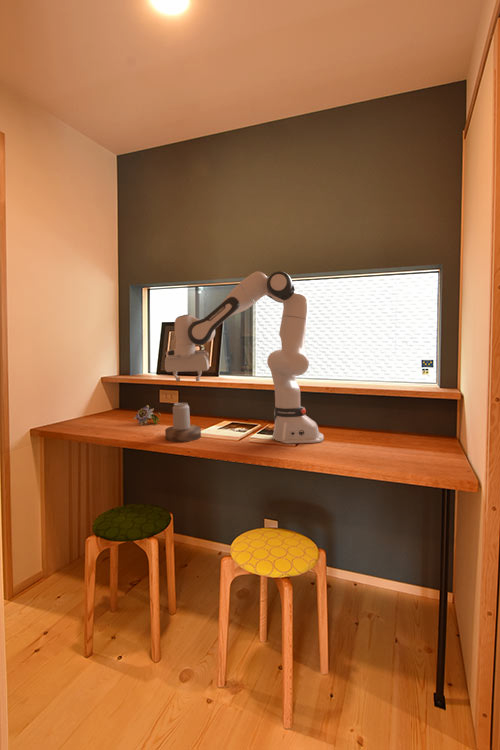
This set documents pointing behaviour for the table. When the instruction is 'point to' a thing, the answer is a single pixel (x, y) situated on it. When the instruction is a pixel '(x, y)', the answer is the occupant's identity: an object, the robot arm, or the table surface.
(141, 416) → the passion flower
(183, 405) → the can
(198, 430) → the plinth
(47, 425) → the table surface
